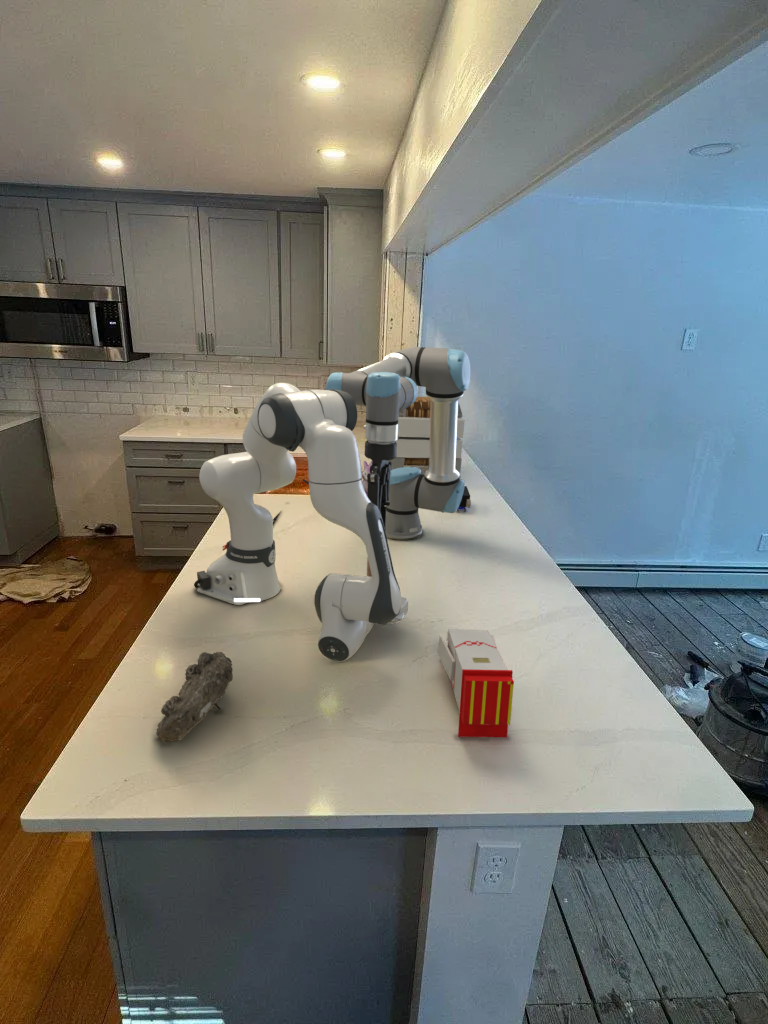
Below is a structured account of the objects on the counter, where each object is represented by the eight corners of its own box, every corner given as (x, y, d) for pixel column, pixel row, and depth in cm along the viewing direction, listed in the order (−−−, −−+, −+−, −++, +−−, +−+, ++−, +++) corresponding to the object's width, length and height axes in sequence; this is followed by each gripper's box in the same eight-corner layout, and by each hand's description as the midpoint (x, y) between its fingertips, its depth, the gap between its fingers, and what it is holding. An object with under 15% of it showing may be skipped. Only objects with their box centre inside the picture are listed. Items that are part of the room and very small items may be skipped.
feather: (288, 505, 226) (290, 501, 226) (271, 529, 199) (273, 524, 199) (284, 503, 226) (287, 499, 225) (266, 526, 199) (269, 522, 199)
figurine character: (470, 516, 223) (465, 500, 237) (473, 499, 220) (467, 484, 233) (453, 516, 223) (449, 500, 236) (455, 498, 220) (451, 483, 233)
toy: (488, 613, 130) (523, 677, 101) (484, 667, 133) (517, 744, 104) (435, 612, 130) (455, 676, 101) (432, 666, 133) (451, 743, 103)
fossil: (183, 653, 120) (233, 621, 115) (215, 683, 122) (265, 653, 117) (132, 735, 100) (190, 701, 95) (171, 768, 103) (229, 737, 98)
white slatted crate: (382, 463, 289) (386, 382, 275) (445, 464, 293) (451, 384, 279) (390, 482, 257) (394, 392, 243) (460, 483, 261) (468, 394, 247)
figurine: (365, 500, 232) (366, 464, 227) (354, 493, 241) (355, 458, 236) (385, 497, 237) (387, 463, 231) (374, 490, 245) (375, 457, 240)
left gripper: (401, 610, 130) (415, 584, 142) (318, 595, 135) (339, 571, 148) (399, 634, 132) (414, 607, 144) (318, 618, 137) (339, 592, 150)
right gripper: (375, 432, 141) (372, 520, 148) (354, 446, 125) (352, 544, 133) (404, 435, 139) (399, 524, 147) (387, 450, 123) (382, 549, 131)
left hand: (375, 588), depth 146 cm, fingers closed on bottle, 4 cm apart
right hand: (377, 533), depth 140 cm, fingers closed on cap, 4 cm apart
